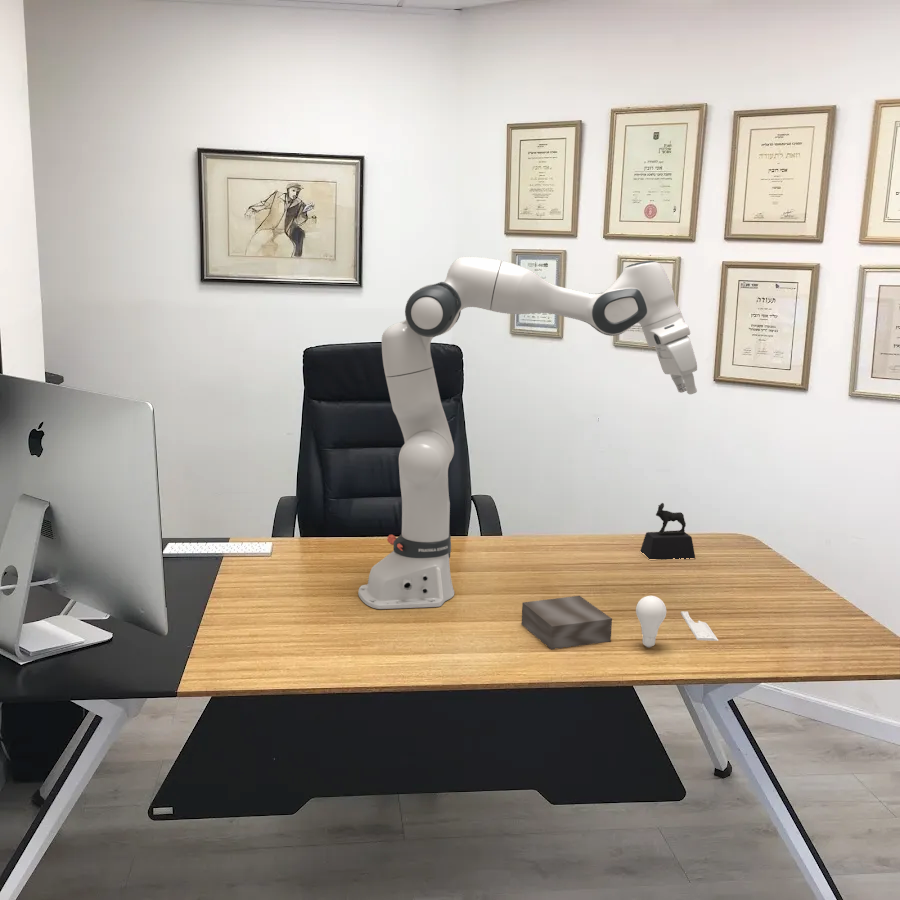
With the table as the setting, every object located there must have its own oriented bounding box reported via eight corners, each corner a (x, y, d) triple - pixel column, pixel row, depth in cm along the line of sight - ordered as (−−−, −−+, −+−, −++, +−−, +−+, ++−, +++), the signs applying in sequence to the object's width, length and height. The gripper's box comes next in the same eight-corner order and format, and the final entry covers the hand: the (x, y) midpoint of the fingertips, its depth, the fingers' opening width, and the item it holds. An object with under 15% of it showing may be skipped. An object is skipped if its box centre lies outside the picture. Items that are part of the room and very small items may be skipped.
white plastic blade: (702, 615, 212) (703, 611, 211) (720, 642, 197) (721, 638, 197) (680, 614, 212) (680, 610, 211) (696, 641, 197) (697, 636, 197)
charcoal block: (550, 649, 190) (552, 626, 189) (521, 624, 203) (522, 602, 202) (610, 641, 195) (612, 618, 194) (578, 616, 208) (579, 595, 207)
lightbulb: (646, 655, 189) (650, 603, 186) (627, 643, 194) (630, 593, 192) (669, 650, 191) (673, 599, 189) (650, 639, 197) (654, 589, 194)
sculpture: (639, 551, 256) (642, 498, 253) (685, 551, 258) (689, 498, 255) (648, 561, 248) (652, 506, 245) (696, 560, 250) (700, 506, 247)
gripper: (643, 338, 211) (664, 395, 212) (660, 337, 191) (683, 400, 192) (670, 328, 210) (691, 385, 212) (690, 325, 190) (713, 389, 191)
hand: (687, 392), depth 201 cm, fingers open, 8 cm apart
